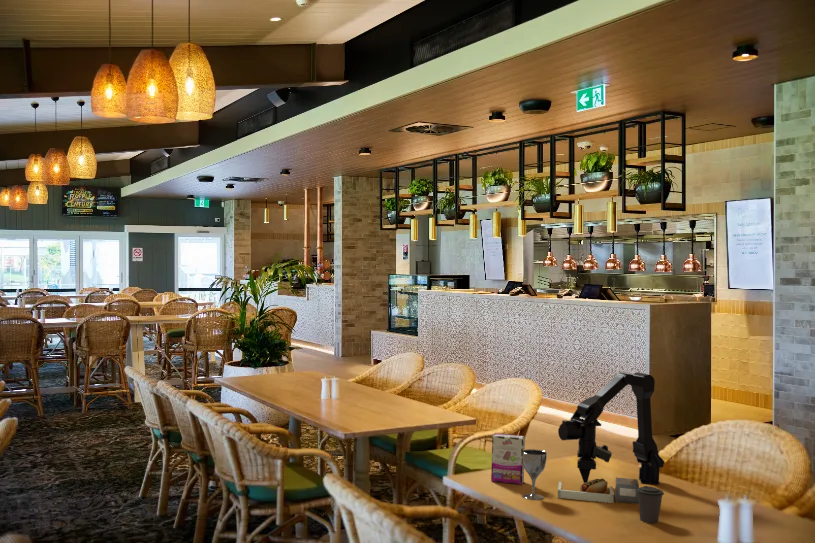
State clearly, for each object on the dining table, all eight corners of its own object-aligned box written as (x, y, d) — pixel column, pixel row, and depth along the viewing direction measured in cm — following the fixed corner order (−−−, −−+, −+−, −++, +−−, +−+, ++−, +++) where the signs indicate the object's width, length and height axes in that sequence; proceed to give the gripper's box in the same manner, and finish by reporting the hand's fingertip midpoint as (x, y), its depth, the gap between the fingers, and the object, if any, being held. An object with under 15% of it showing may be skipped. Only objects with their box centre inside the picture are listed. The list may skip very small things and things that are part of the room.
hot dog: (610, 493, 267) (611, 479, 266) (590, 501, 257) (591, 486, 257) (597, 490, 270) (598, 476, 270) (577, 497, 260) (578, 483, 260)
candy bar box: (524, 481, 278) (525, 435, 277) (521, 485, 273) (523, 438, 273) (493, 478, 281) (494, 432, 281) (490, 481, 276) (492, 435, 276)
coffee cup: (641, 514, 244) (642, 482, 244) (667, 520, 239) (668, 488, 239) (630, 520, 238) (632, 487, 238) (656, 526, 233) (658, 493, 233)
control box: (637, 496, 263) (638, 478, 263) (639, 504, 255) (640, 485, 255) (614, 494, 265) (614, 476, 265) (615, 501, 257) (616, 482, 257)
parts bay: (612, 493, 266) (612, 486, 266) (613, 503, 255) (613, 495, 255) (558, 488, 270) (558, 481, 270) (557, 497, 259) (557, 490, 259)
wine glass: (544, 494, 263) (545, 449, 262) (546, 501, 255) (547, 455, 255) (520, 492, 263) (522, 448, 263) (521, 499, 255) (523, 454, 255)
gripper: (611, 446, 262) (610, 492, 262) (609, 435, 280) (608, 478, 280) (578, 443, 264) (576, 489, 264) (578, 432, 282) (576, 475, 283)
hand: (585, 483), depth 273 cm, fingers closed
